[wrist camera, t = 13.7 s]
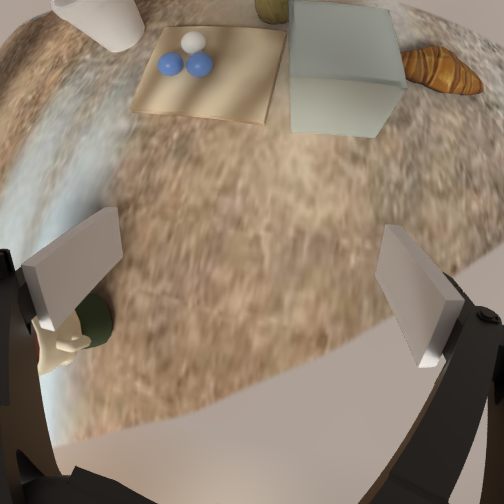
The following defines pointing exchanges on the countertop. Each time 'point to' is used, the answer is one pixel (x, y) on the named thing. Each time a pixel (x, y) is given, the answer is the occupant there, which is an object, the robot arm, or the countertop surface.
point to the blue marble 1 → (170, 64)
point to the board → (215, 75)
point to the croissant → (440, 71)
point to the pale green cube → (342, 68)
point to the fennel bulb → (272, 11)
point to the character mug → (72, 334)
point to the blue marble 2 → (199, 64)
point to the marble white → (193, 42)
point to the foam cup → (104, 20)
